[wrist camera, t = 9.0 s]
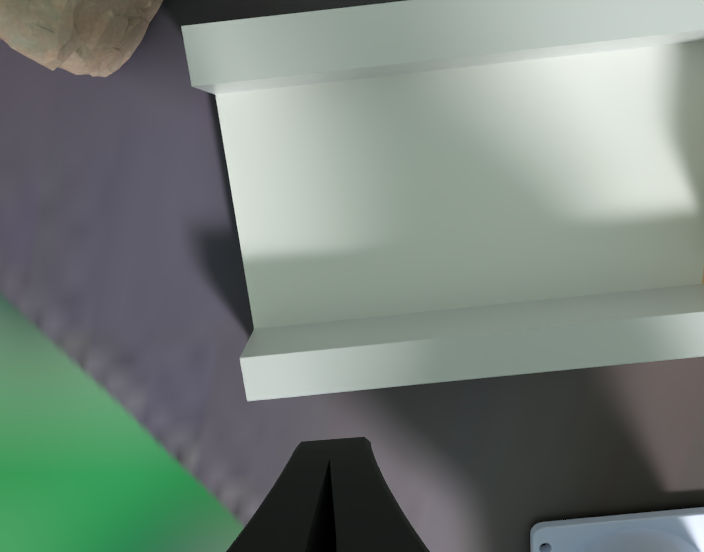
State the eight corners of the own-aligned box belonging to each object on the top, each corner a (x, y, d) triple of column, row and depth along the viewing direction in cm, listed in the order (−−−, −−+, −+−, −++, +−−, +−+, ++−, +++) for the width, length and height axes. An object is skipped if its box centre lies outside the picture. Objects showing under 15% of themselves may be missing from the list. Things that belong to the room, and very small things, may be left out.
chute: (1006, 296, 19) (1140, 327, 16) (265, 369, 19) (249, 415, 16) (1096, -69, 16) (1287, -122, 13) (210, 31, 16) (177, 5, 13)
